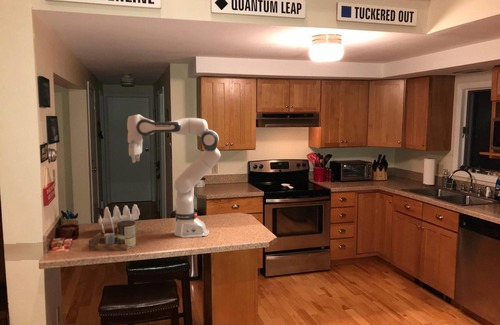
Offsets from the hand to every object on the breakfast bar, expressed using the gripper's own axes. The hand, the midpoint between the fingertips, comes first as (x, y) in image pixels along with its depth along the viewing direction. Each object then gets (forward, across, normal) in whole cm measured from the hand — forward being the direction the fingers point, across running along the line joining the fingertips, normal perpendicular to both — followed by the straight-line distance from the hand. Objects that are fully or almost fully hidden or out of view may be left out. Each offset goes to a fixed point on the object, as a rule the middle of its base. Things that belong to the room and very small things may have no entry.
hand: (135, 161), depth 251 cm
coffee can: (+48, -24, +1) cm, 53 cm away
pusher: (+47, -23, +12) cm, 54 cm away
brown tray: (+47, -24, +10) cm, 54 cm away
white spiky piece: (+48, +8, +14) cm, 50 cm away
